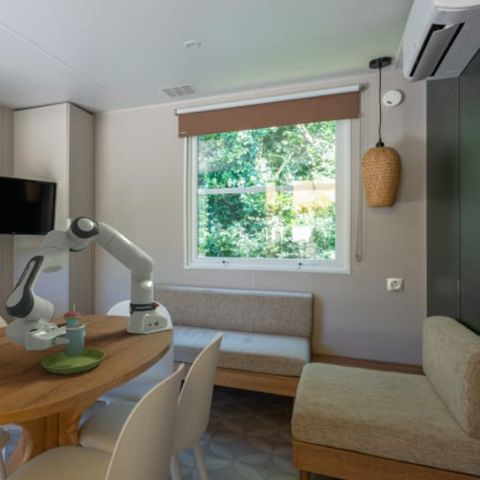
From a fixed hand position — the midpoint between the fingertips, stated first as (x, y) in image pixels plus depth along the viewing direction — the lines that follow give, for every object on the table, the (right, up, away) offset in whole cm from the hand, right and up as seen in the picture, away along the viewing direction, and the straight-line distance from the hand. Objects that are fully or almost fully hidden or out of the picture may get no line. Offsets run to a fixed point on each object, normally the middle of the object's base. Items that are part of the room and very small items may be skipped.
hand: (77, 337), depth 118 cm
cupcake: (-32, -10, +58) cm, 66 cm away
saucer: (-1, -10, 0) cm, 11 cm away
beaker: (-1, -6, 0) cm, 6 cm away
